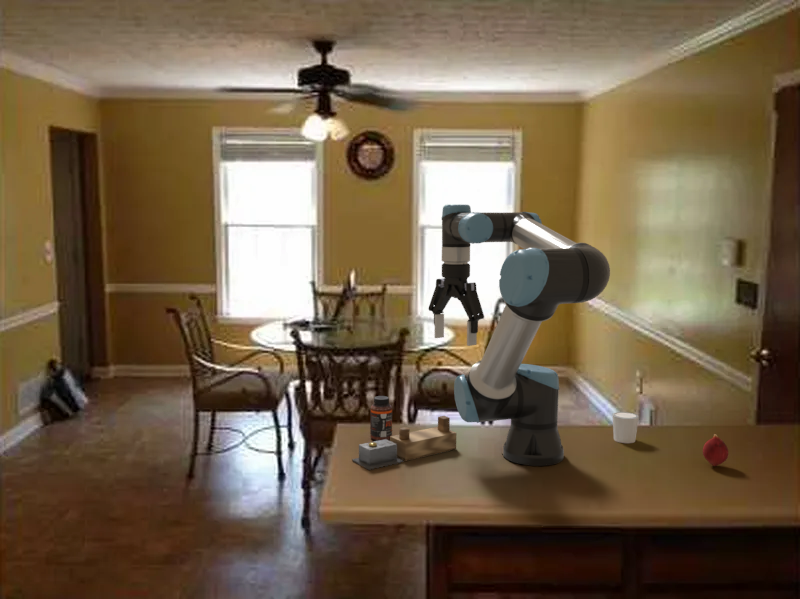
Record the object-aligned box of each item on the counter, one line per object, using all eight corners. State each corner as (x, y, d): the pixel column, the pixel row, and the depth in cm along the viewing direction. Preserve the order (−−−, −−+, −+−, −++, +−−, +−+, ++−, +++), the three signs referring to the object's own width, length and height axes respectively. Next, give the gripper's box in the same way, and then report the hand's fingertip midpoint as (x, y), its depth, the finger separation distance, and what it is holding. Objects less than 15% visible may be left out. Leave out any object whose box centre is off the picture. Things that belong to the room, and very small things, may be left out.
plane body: (440, 442, 207) (440, 413, 206) (456, 449, 201) (456, 419, 200) (390, 453, 198) (390, 423, 197) (405, 461, 192) (405, 429, 191)
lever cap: (396, 459, 192) (396, 442, 191) (369, 466, 188) (369, 448, 187) (385, 454, 196) (385, 437, 196) (358, 460, 192) (358, 442, 191)
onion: (731, 466, 189) (733, 434, 188) (722, 472, 185) (724, 439, 184) (707, 460, 193) (709, 429, 192) (698, 466, 189) (699, 434, 188)
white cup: (640, 444, 206) (642, 418, 205) (615, 443, 206) (616, 418, 205) (633, 436, 213) (634, 411, 212) (608, 436, 213) (609, 411, 212)
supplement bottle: (389, 442, 207) (389, 401, 206) (368, 440, 208) (367, 399, 207) (394, 435, 213) (394, 395, 212) (373, 433, 214) (373, 394, 213)
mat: (403, 462, 191) (403, 460, 191) (369, 470, 186) (369, 468, 186) (385, 453, 198) (385, 451, 198) (352, 460, 192) (352, 459, 192)
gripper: (498, 265, 198) (497, 346, 200) (437, 259, 218) (437, 333, 221) (476, 266, 193) (475, 350, 196) (416, 260, 213) (416, 335, 216)
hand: (455, 341), depth 208 cm, fingers open, 13 cm apart
